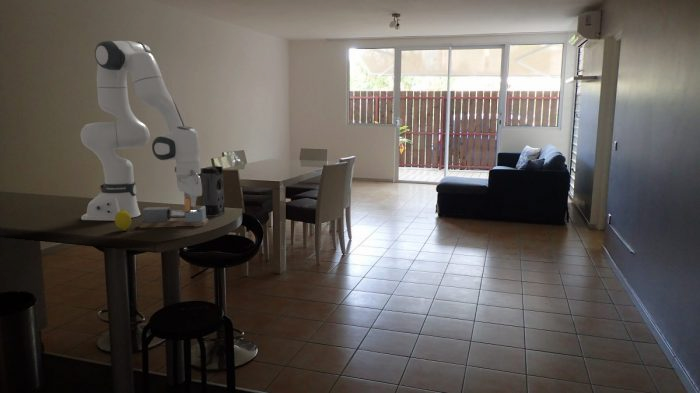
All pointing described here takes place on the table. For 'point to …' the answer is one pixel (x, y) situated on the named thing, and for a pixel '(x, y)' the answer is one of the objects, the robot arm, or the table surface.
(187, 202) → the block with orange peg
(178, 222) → the bench board
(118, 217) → the lemon
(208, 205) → the electronic device
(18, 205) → the table surface
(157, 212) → the outer sleeve
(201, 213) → the socket block
